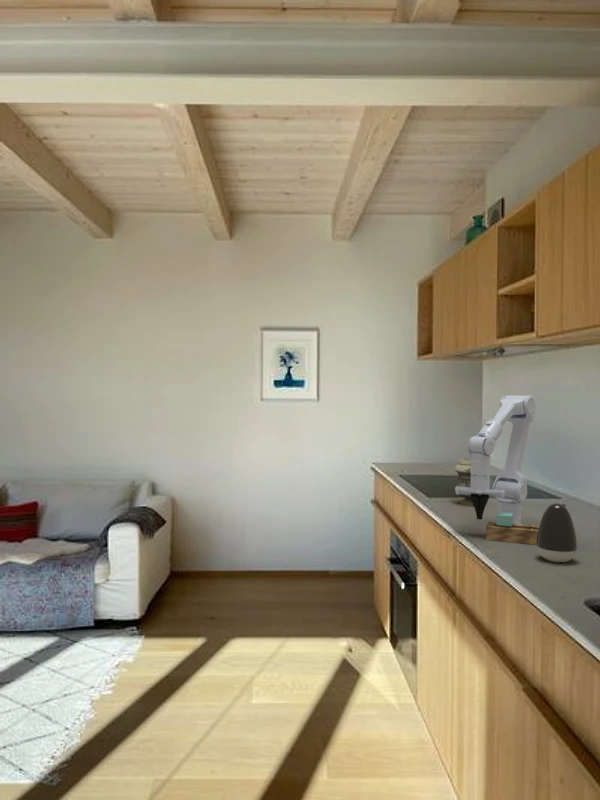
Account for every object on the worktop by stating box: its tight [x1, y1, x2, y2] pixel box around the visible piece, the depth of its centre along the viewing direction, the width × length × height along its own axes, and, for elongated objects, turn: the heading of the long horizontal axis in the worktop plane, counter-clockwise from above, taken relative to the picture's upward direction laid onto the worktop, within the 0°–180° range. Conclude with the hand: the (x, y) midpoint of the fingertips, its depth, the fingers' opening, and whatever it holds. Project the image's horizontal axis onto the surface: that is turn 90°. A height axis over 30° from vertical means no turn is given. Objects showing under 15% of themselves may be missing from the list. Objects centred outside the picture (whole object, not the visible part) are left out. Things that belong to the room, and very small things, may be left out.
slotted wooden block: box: [485, 521, 539, 546], centre depth 186 cm, size 24×8×6 cm, turn 67°
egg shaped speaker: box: [535, 503, 579, 563], centre depth 166 cm, size 10×10×15 cm
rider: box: [495, 511, 513, 527], centre depth 189 cm, size 4×5×5 cm
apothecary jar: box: [454, 458, 486, 507], centre depth 247 cm, size 12×12×18 cm
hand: (479, 518), depth 192 cm, fingers closed
